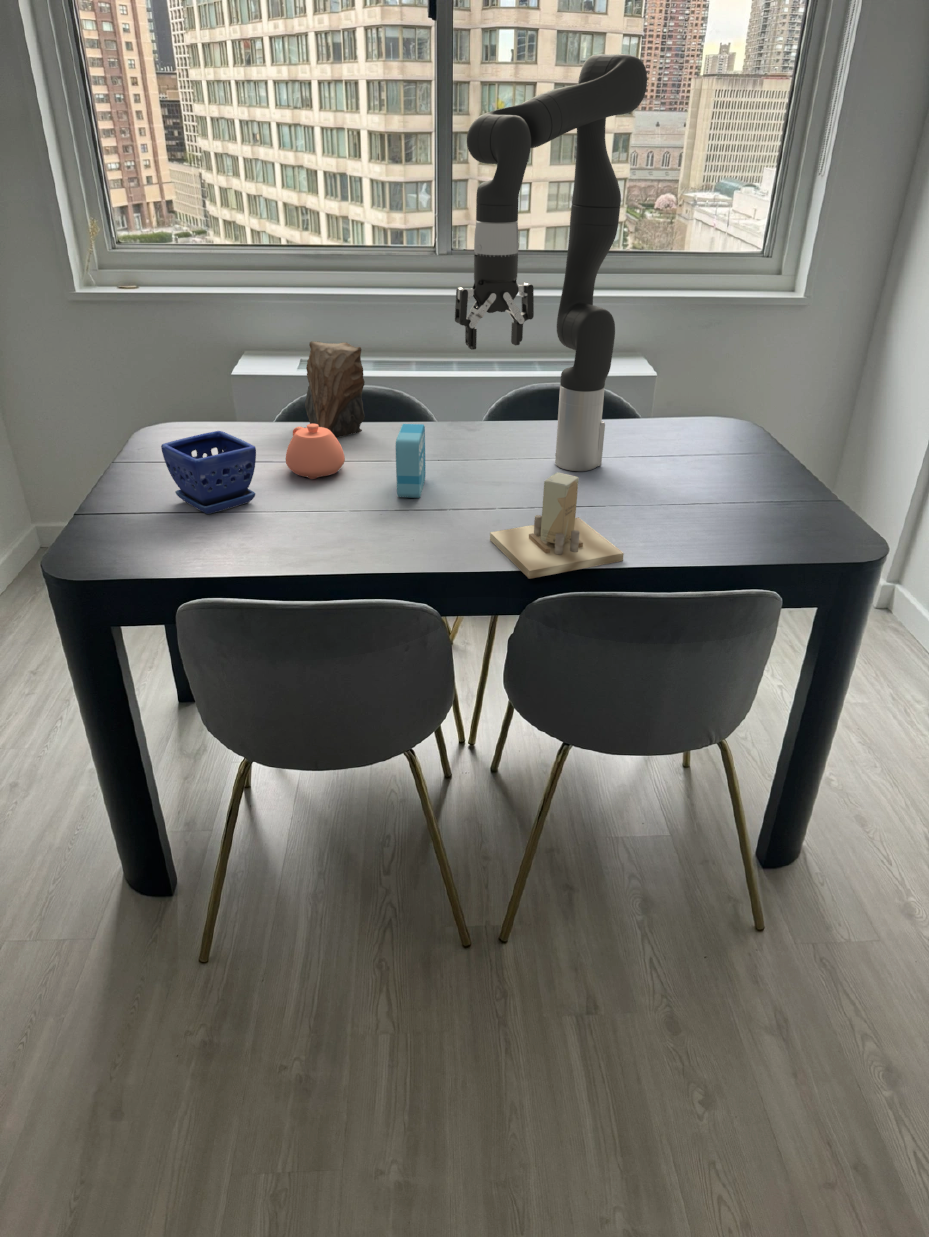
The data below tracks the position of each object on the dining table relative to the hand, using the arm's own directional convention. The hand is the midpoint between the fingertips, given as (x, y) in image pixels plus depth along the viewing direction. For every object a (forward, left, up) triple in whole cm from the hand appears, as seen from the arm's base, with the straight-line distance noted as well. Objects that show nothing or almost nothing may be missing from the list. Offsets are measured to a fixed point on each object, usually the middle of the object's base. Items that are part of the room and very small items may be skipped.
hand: (493, 346), depth 158 cm
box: (-2, +24, -28) cm, 37 cm away
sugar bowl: (+28, -29, -30) cm, 50 cm away
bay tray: (-2, +24, -30) cm, 38 cm away
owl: (+18, -52, -30) cm, 63 cm away
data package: (+12, -12, -30) cm, 35 cm away
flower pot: (+50, -19, -30) cm, 61 cm away
